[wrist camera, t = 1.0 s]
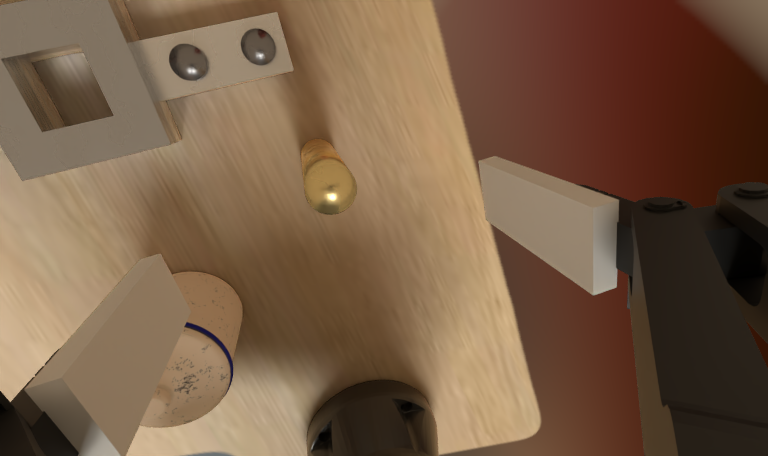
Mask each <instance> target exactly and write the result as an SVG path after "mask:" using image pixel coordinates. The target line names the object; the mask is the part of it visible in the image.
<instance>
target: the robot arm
mask: <svg viewBox="0 0 768 456" xmlns="http://www.w3.org/2000/svg"><path fill="white" fill-rule="evenodd" d="M479 169H480V177H481V185H482V192H483V200H484V208H485V216H486V220H487V221H488V222H490V223H491V224H493V225H494V226H495V227H497V228H498V229H500V230H501V231H502V232H504V233H505V234H507V235H508V236H510V237H511V238H512V239H514V240H515V241H517V242H518V243H520V244H521V245H522V246H524V247H525V248H527V249H528V250H530V251H531V252H533V253H534V254H535V255H537V256H538V257H539V258H541V259H542V260H544V261H545V262H547V263H548V264H549V265H551V266H552V267H554V268H555V269H557V270H558V271H559V272H561V273H562V274H564V275H565V276H567V277H568V278H569V279H571V280H572V281H574V282H575V283H576V284H578V285H579V286H581V287H582V288H584V289H585V290H587V291H588V292H589V293H591V294H592V295H596V294H599V293H602V292H604V291H607V290H610V289H613V288H616V287H617V269H619V270H621V271H623V272H624V273H626V274H628V275H629V277H628V301H627V308H628V309H630V311H631V321H632V332H633V342H634V352H635V363H636V372H637V383H638V394H639V404H640V414H641V425H642V435H643V444H644V455H645V456H768V368H767V366H766V364H765V362H764V360H763V357H762V355H761V353H760V351H759V349H758V347H757V345H756V342H755V340H754V338H753V336H752V334H751V332H750V330H749V327H748V325H747V323H746V321H747V322H748V323H749V324H750V325H751V326H752V327H753V328H754V330H755V331H757V333H758V334H759V335H760V336H761V337H762V338H763V339H764V340H765V341H766V342H767V343H768V185H765V184H764V183H754V182H750V183H749V182H748V183H745V184H735V185H730V186H726V187H723V188H721V189H720V190H719V192H718V196H717V203H716V205H714V206H708V207H700V208H693V206H692V205H691V204H689V203H688V202H686V201H683V200H680V199H675V198H668V197H654V198H646V199H642V200H638V201H637V202H633V201H630V200H627V199H624V198H621V197H618V196H616V195H613V194H608V193H607V192H604V191H599V190H598V189H595V188H592V187H589V186H586V185H578V184H573V183H570V182H567V181H564V180H561V179H558V178H556V177H553V176H550V175H547V174H544V173H541V172H539V171H536V170H533V169H530V168H527V167H524V166H522V165H519V164H516V163H513V162H510V161H507V160H504V159H502V158H499V157H496V156H494V157H490V158H487V159H484V160H480V161H479ZM190 313H191V310H190V308H189V306H188V304H187V303H186V301H185V299H184V297H183V295H182V293H181V291H180V289H179V287H178V285H177V284H176V282H175V280H174V278H173V276H172V274H171V272H170V270H169V268H168V266H167V265H166V263H165V261H164V259H163V257H162V255H161V253H159V254H156V255H153V256H149V257H146V258H142V259H140V260H139V261H138V262H137V263H136V264H135V265H134V266H133V267H132V269H131V270H130V271H129V272H128V273H127V274H126V275H125V276H124V278H123V279H122V280H121V281H120V282H119V283H118V284H117V285H116V287H115V288H114V289H113V290H112V291H111V292H110V293H109V294H108V296H107V297H106V298H105V299H104V300H103V301H102V302H101V303H100V305H99V306H98V307H97V308H96V309H95V310H94V311H93V312H92V314H91V315H90V316H89V317H88V318H87V319H86V320H85V321H84V323H83V324H82V325H81V326H80V327H79V328H78V329H77V330H76V332H75V333H74V334H73V335H72V336H71V337H70V338H69V339H68V341H67V342H66V343H65V344H64V345H63V346H62V347H61V348H60V349H58V350H57V351H56V352H55V353H54V354H53V355H52V356H51V358H50V359H49V360H48V361H47V362H46V363H45V366H43V367H42V368H41V369H40V370H39V371H38V372H37V373H36V374H35V377H33V378H32V379H31V380H30V381H29V382H28V383H27V384H26V386H25V387H24V388H23V389H22V390H21V391H20V392H19V393H18V394H17V396H16V397H15V398H14V399H13V400H12V401H11V402H9V400H8V399H7V398H6V397H5V396H4V395H3V393H2V392H1V391H0V456H78V455H79V456H126V454H127V452H128V449H129V447H130V445H131V443H132V441H133V438H134V436H135V434H136V432H137V430H138V427H139V425H140V423H141V421H142V419H143V416H144V414H145V412H146V410H147V408H148V405H149V403H150V401H151V399H152V397H153V394H154V392H155V390H156V388H157V386H158V383H159V381H160V379H161V377H162V375H163V373H164V370H165V368H166V366H167V364H168V362H169V359H170V357H171V355H172V353H173V351H174V348H175V346H176V344H177V342H178V340H179V337H180V335H181V333H182V331H183V329H184V326H185V324H186V322H187V320H188V318H189V315H190ZM745 320H746V321H745ZM307 455H308V456H439V454H438V437H437V426H436V422H435V418H434V416H433V413H432V411H431V409H430V406H429V404H428V402H427V400H426V399H425V397H424V396H423V395H422V394H421V393H420V392H419V391H417V390H416V389H415V388H413V387H411V386H409V385H407V384H404V383H400V382H396V381H387V380H380V381H371V382H366V383H362V384H358V385H355V386H353V387H350V388H348V389H346V390H344V391H342V392H340V393H339V394H337V395H336V396H334V397H333V398H331V399H330V400H329V401H328V402H327V403H325V404H324V405H323V406H322V408H321V409H320V410H319V411H318V412H317V414H316V415H315V417H314V418H313V420H312V422H311V424H310V427H309V430H308V434H307Z"/></svg>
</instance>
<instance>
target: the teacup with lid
mask: <svg viewBox="0 0 768 456" xmlns="http://www.w3.org/2000/svg"><path fill="white" fill-rule="evenodd" d="M172 276H173V278H174V280H175V282H176V284H177V285H178V287H179V289H180V291H181V293H182V295H183V297H184V299H185V301H186V303H187V304H188V306H189V308H190V310H191V313H190V315H189V318H188V320H187V322H186V324H185V326H184V329H183V331H182V333H181V335H180V337H179V340H178V342H177V344H176V346H175V348H174V351H173V353H172V355H171V357H170V359H169V362H168V364H167V366H166V368H165V370H164V373H163V375H162V377H161V379H160V381H159V383H158V386H157V388H156V390H155V392H154V394H153V397H152V399H151V401H150V403H149V405H148V408H147V410H146V412H145V414H144V416H143V419H142V421H141V423H140V426H146V427H157V428H162V427H173V426H179V425H182V424H186V423H189V422H192V421H194V420H196V419H198V418H200V417H202V416H204V415H205V414H207V413H208V412H210V411H211V410H212V409H213V408H214V407H216V406H217V405H218V403H219V402H220V401H221V400H222V399H223V397H224V396H225V395H226V393H227V391H228V390H229V387H230V385H231V382H232V378H233V359H234V354H235V350H236V345H237V341H238V336H239V332H240V327H241V323H242V318H243V309H242V304H241V301H240V299H239V297H238V295H237V293H236V292H235V291H234V289H233V288H232V287H231V286H230V285H229V284H227V283H226V282H225V281H223V280H222V279H220V278H218V277H216V276H213V275H210V274H207V273H203V272H193V271H190V272H180V273H175V274H172Z"/></svg>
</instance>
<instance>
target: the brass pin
mask: <svg viewBox="0 0 768 456" xmlns="http://www.w3.org/2000/svg"><path fill="white" fill-rule="evenodd" d="M301 162H302V171H303V180H304V189H305V196H306V199H307V201H308V203H309V204H310V205H311V206H312V207H313V208H314V209H315V210H316V211H318V212H320V213H323V214H330V215H332V214H338V213H341V212H343V211H345V210H346V209H347V208H349V207H350V206H351V204H352V203H353V201H354V199H355V197H356V193H357V186H356V181H355V179H354V177H353V175H352V174H351V172H350V171H349V169H348V168H347V167H346V165H345V164H344V162H343V161H342V159H341V158H340V157H339V155H338V154H337V152H336V151H335V149H334V148H333V146H332V145H331V144H330V143H329V142H327V141H325V140H323V139H313V140H311V141H309V142H307V143H306V144H305V145H304V147H303V149H302V151H301Z"/></svg>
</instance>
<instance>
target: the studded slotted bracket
mask: <svg viewBox="0 0 768 456" xmlns="http://www.w3.org/2000/svg"><path fill="white" fill-rule="evenodd" d="M78 52H83V53H84V55H85V57H86V59H87V61H88V63H89V66H90V68H91V70H92V72H93V74H94V76H95V78H96V80H97V82H98V84H99V86H100V88H101V90H102V92H103V95H104V97H105V99H106V101H107V103H108V105H109V107H110V109H111V111H112V113H113V115H114V116H111V117H106V118H102V119H98V120H93V121H89V122H85V123H80V124H76V125H72V126H67V127H66V126H65V124H64V122H63V120H62V118H61V116H60V114H59V112H58V111H57V109H56V107H55V105H54V103H53V101H52V99H51V98H50V96H49V94H48V92H47V90H46V88H45V86H44V84H43V83H42V81H41V79H40V77H39V75H38V73H37V71H36V70H35V68H34V66H33V64H32V62H34V61H39V60H44V59H49V58H54V57H59V56H63V55H68V54H73V53H78ZM293 71H294V69H293V65H292V62H291V58H290V55H289V51H288V48H287V44H286V41H285V37H284V34H283V30H282V27H281V23H280V20H279V16H278V13H277V12H274V13H269V14H264V15H259V16H254V17H250V18H245V19H240V20H235V21H230V22H226V23H221V24H216V25H211V26H206V27H202V28H197V29H192V30H187V31H182V32H178V33H173V34H168V35H163V36H158V37H154V38H149V39H144V40H140V39H139V36H138V34H137V32H136V29H135V27H134V25H133V22H132V20H131V17H130V15H129V13H128V10H127V8H126V6H125V3H124V1H123V0H25V1H20V2H15V3H9V4H4V5H0V146H1V147H2V149H3V150H4V152H5V154H6V155H7V157H8V159H9V160H10V162H11V163H12V165H13V167H14V168H15V170H16V172H17V173H18V175H19V176H20V178H21V180H22V181H24V180H29V179H33V178H37V177H41V176H45V175H49V174H53V173H57V172H61V171H65V170H69V169H73V168H77V167H82V166H86V165H90V164H94V163H98V162H102V161H106V160H110V159H114V158H118V157H122V156H126V155H131V154H135V153H139V152H143V151H147V150H151V149H155V148H159V147H163V146H167V145H171V144H173V143H176V142H178V141H180V140H182V138H181V136H180V133H179V131H178V129H177V126H176V124H175V121H174V119H173V117H172V114H171V112H170V110H169V107H168V105H167V103H166V101H167V100H172V99H176V98H180V97H185V96H189V95H193V94H198V93H202V92H206V91H211V90H215V89H220V88H224V87H228V86H233V85H237V84H241V83H246V82H250V81H254V80H259V79H263V78H267V77H272V76H276V75H280V74H285V73H289V72H293Z"/></svg>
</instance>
